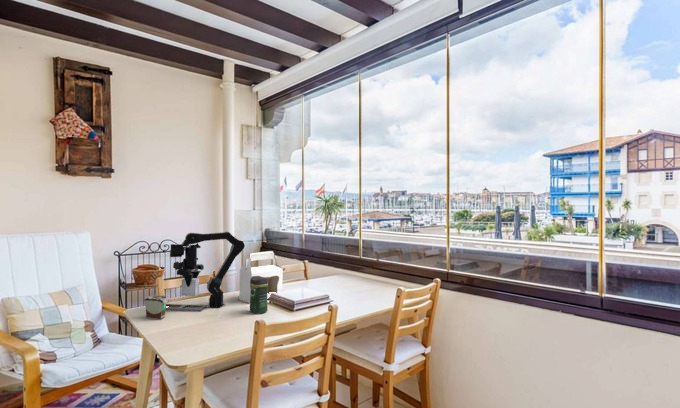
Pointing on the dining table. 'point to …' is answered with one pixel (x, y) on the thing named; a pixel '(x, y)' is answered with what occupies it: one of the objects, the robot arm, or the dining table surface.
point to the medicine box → (190, 287)
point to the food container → (155, 306)
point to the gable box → (260, 274)
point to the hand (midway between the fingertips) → (190, 285)
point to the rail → (182, 307)
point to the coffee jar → (258, 294)
